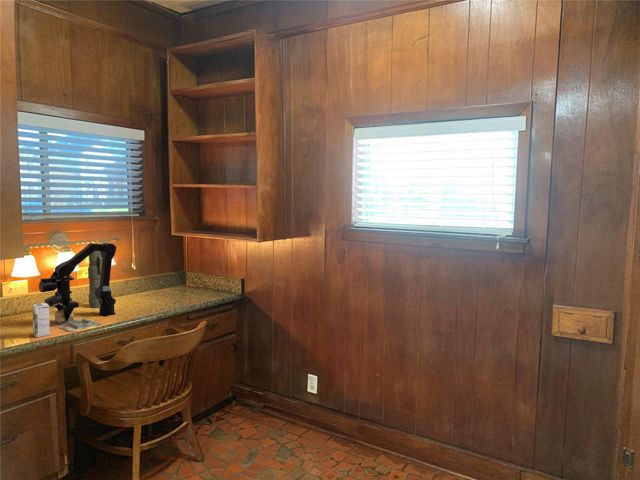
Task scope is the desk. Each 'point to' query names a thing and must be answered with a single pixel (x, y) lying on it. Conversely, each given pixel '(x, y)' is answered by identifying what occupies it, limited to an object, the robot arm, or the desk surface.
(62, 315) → the plug block
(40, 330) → the syrup box
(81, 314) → the desk surface
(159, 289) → the desk surface
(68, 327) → the socket plate
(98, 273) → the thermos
